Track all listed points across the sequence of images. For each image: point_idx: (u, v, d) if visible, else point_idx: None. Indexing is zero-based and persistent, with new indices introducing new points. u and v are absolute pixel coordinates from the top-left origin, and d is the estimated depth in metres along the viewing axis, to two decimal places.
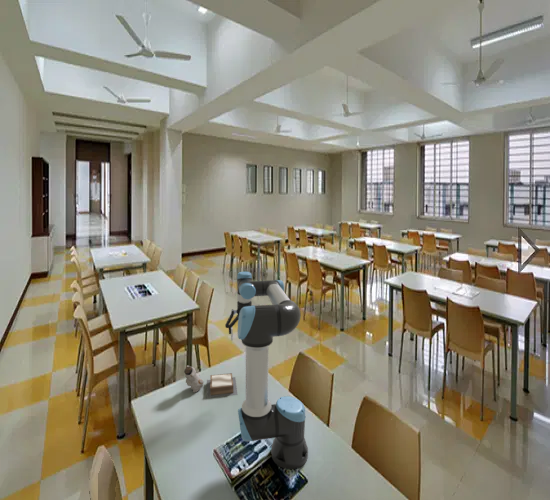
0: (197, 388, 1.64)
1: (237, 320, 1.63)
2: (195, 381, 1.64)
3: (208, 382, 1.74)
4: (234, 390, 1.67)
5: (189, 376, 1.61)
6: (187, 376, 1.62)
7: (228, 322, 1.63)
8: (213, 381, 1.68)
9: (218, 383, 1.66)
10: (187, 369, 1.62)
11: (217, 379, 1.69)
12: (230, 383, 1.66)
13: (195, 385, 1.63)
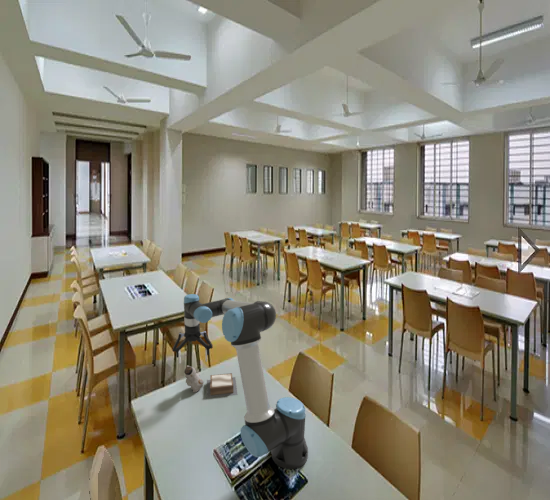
0: (197, 388, 1.64)
1: (184, 343, 1.60)
2: (195, 381, 1.64)
3: (208, 382, 1.74)
4: (234, 390, 1.67)
5: (189, 376, 1.61)
6: (187, 376, 1.62)
7: (175, 346, 1.59)
8: (213, 381, 1.68)
9: (218, 383, 1.66)
10: (187, 369, 1.62)
11: (217, 379, 1.69)
12: (230, 383, 1.66)
13: (195, 385, 1.63)
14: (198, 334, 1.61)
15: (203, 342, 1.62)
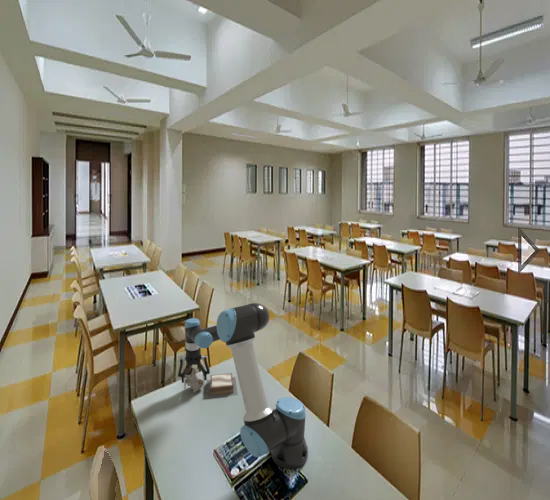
0: (197, 388, 1.65)
1: None
2: (195, 381, 1.64)
3: (208, 382, 1.74)
4: (234, 390, 1.67)
5: (189, 376, 1.61)
6: (187, 376, 1.62)
7: (179, 371, 1.62)
8: (213, 381, 1.68)
9: (218, 383, 1.66)
10: (187, 369, 1.62)
11: (217, 379, 1.69)
12: (230, 383, 1.66)
13: (195, 385, 1.63)
14: (199, 358, 1.63)
15: (202, 367, 1.65)
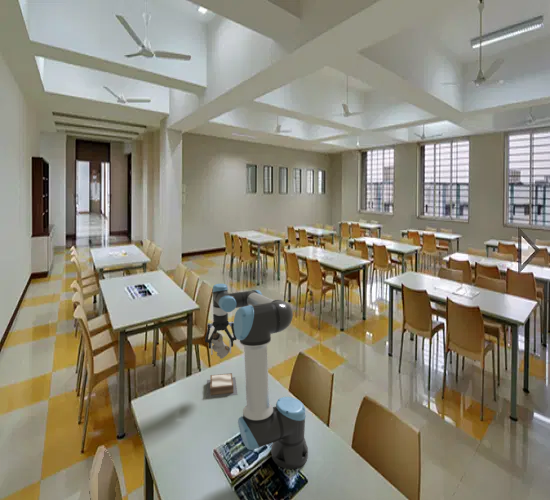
0: (224, 354, 1.64)
1: None
2: (222, 347, 1.63)
3: (208, 382, 1.74)
4: (234, 390, 1.67)
5: (216, 341, 1.61)
6: (214, 341, 1.61)
7: (206, 336, 1.61)
8: (213, 381, 1.68)
9: (218, 383, 1.66)
10: (214, 334, 1.61)
11: (217, 379, 1.69)
12: (230, 383, 1.66)
13: (222, 351, 1.63)
14: (226, 323, 1.62)
15: (229, 333, 1.64)
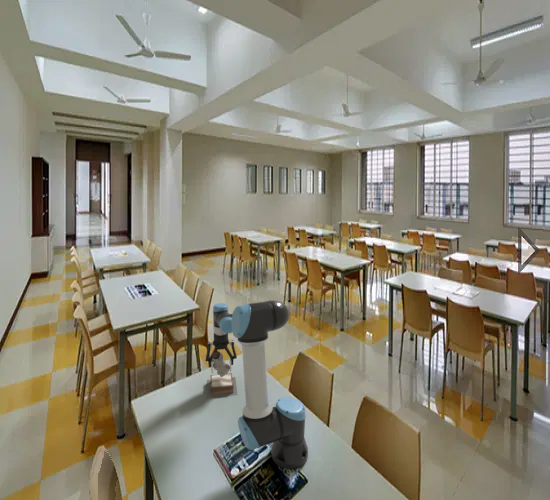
0: (224, 372, 1.66)
1: None
2: (222, 365, 1.65)
3: (208, 382, 1.74)
4: (234, 390, 1.67)
5: (217, 360, 1.63)
6: (215, 360, 1.63)
7: (207, 355, 1.63)
8: (213, 381, 1.68)
9: (218, 383, 1.66)
10: (215, 353, 1.63)
11: (217, 379, 1.69)
12: (230, 383, 1.66)
13: (222, 369, 1.65)
14: (227, 342, 1.64)
15: (229, 352, 1.66)
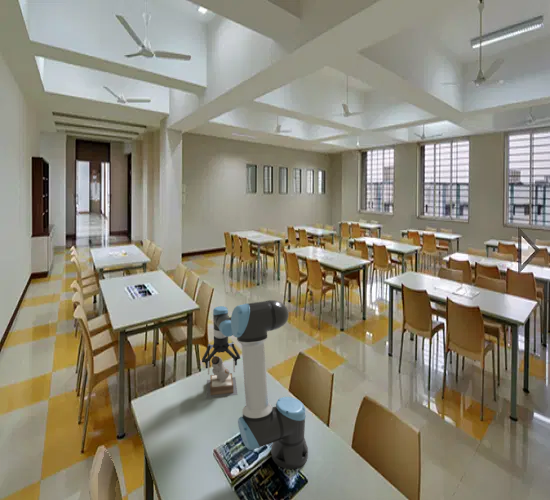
0: (224, 377, 1.66)
1: (213, 354, 1.64)
2: (222, 370, 1.65)
3: (208, 382, 1.74)
4: (234, 390, 1.67)
5: (216, 365, 1.63)
6: (214, 365, 1.64)
7: (204, 357, 1.63)
8: (213, 381, 1.68)
9: (218, 383, 1.66)
10: (214, 358, 1.64)
11: (217, 379, 1.69)
12: (230, 383, 1.66)
13: (222, 374, 1.65)
14: (227, 345, 1.65)
15: (231, 353, 1.67)
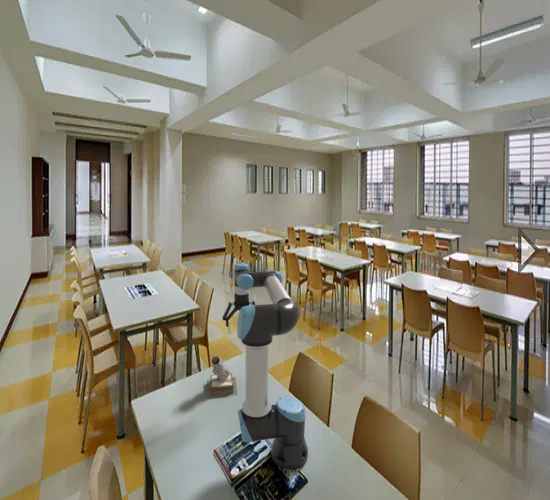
0: (224, 377, 1.66)
1: (234, 312, 1.62)
2: (222, 370, 1.65)
3: (208, 382, 1.74)
4: (234, 390, 1.67)
5: (216, 365, 1.63)
6: (214, 365, 1.64)
7: (225, 314, 1.61)
8: (213, 381, 1.68)
9: (218, 383, 1.66)
10: (214, 358, 1.64)
11: (217, 379, 1.69)
12: (230, 383, 1.66)
13: (222, 374, 1.65)
14: (247, 303, 1.63)
15: None
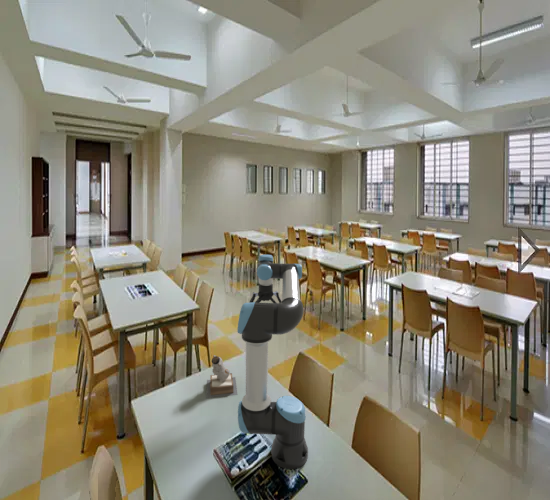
0: (224, 377, 1.66)
1: (258, 303, 1.65)
2: (222, 370, 1.65)
3: (208, 382, 1.74)
4: (234, 390, 1.67)
5: (216, 365, 1.63)
6: (214, 365, 1.64)
7: None
8: (213, 381, 1.68)
9: (218, 383, 1.66)
10: (214, 358, 1.64)
11: (217, 379, 1.69)
12: (230, 383, 1.66)
13: (222, 374, 1.65)
14: (271, 294, 1.65)
15: (275, 302, 1.67)
